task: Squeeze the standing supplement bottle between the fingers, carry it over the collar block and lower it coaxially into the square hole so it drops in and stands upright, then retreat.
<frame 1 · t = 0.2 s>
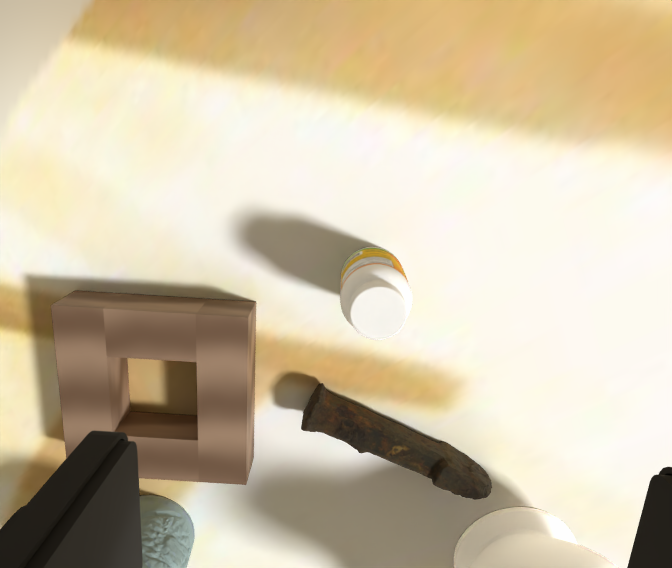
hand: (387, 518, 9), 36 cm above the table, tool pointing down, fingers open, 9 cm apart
supplement bottle: (371, 275, 46), on the table
collar block: (168, 378, 49), on the table
blue grey cup: (155, 526, 54), on the table
hand tool: (401, 427, 50), on the table
decorative vase: (514, 556, 54), on the table
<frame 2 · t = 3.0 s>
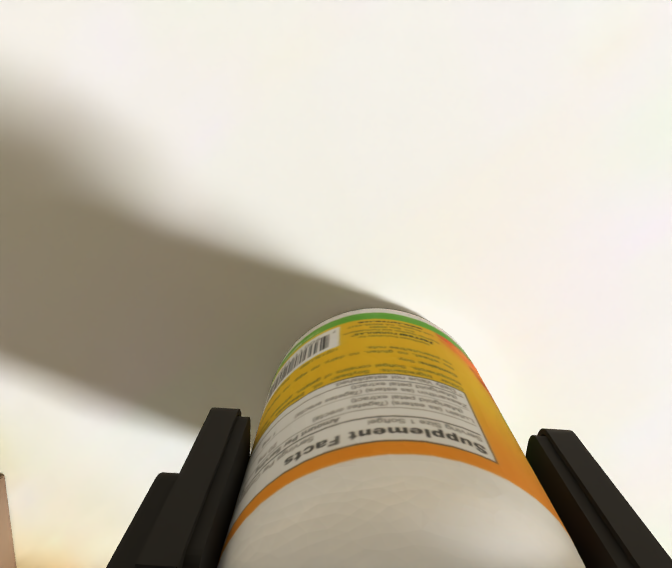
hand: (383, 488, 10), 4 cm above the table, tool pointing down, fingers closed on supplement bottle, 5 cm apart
supplement bottle: (374, 397, 14), on the table, touching gripper
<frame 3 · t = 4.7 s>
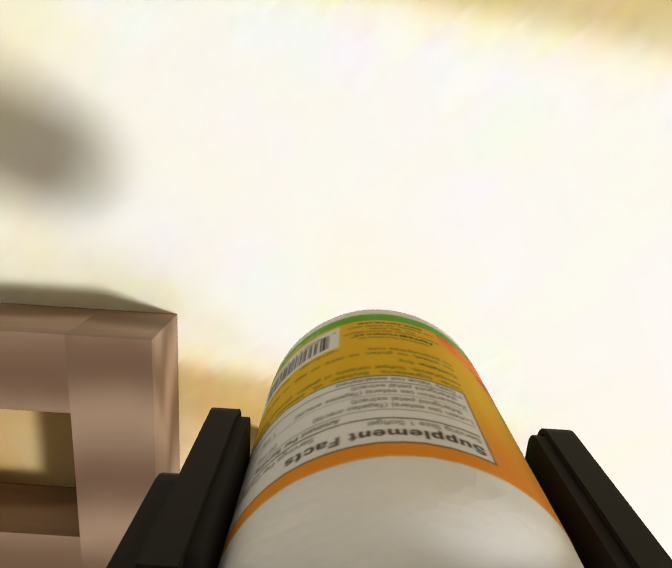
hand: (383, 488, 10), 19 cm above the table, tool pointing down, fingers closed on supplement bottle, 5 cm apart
supplement bottle: (374, 398, 14), point 15 cm above the table, touching gripper
collar block: (46, 432, 31), on the table
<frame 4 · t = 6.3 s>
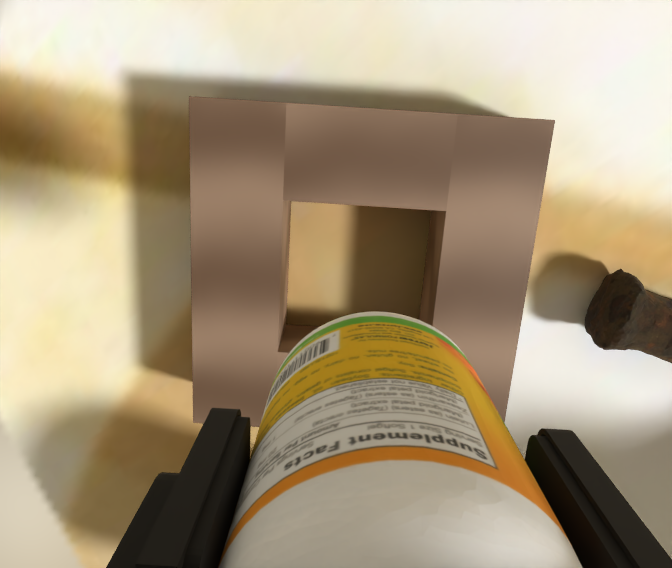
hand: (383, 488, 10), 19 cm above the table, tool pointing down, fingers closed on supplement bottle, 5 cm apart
supplement bottle: (374, 400, 14), point 16 cm above the table, touching gripper
collar block: (356, 264, 29), on the table
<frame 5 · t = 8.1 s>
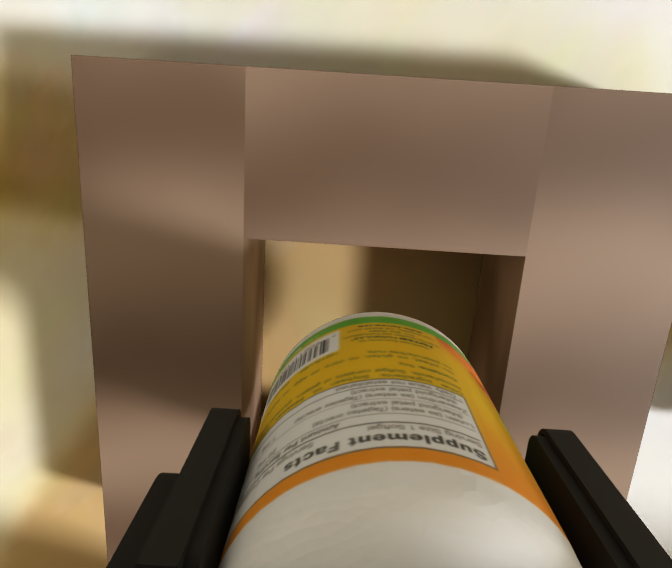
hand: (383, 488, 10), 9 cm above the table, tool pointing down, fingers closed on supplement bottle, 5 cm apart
supplement bottle: (373, 400, 14), point 5 cm above the table, touching gripper
collar block: (367, 326, 19), on the table
when the fingers open (5 cm above the table, at t = 9.7 s): supplement bottle drops 2 cm, resting in collar block.
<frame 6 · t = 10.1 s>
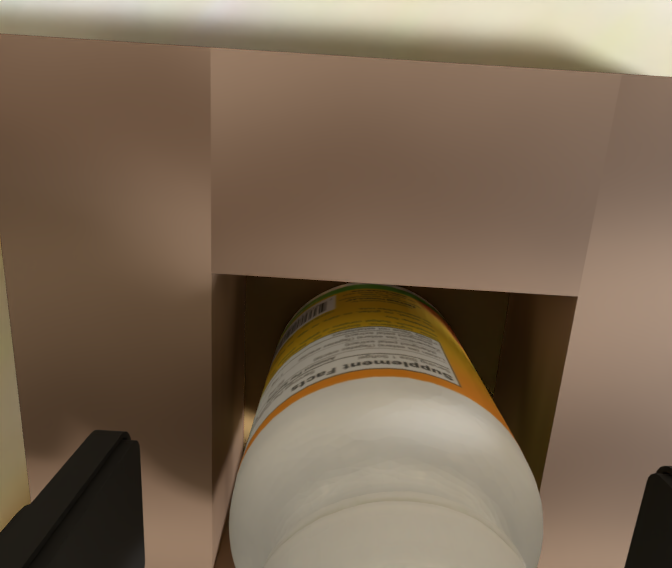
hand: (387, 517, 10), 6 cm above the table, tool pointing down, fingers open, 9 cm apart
supplement bottle: (366, 361, 16), resting in collar block
collar block: (370, 369, 16), on the table
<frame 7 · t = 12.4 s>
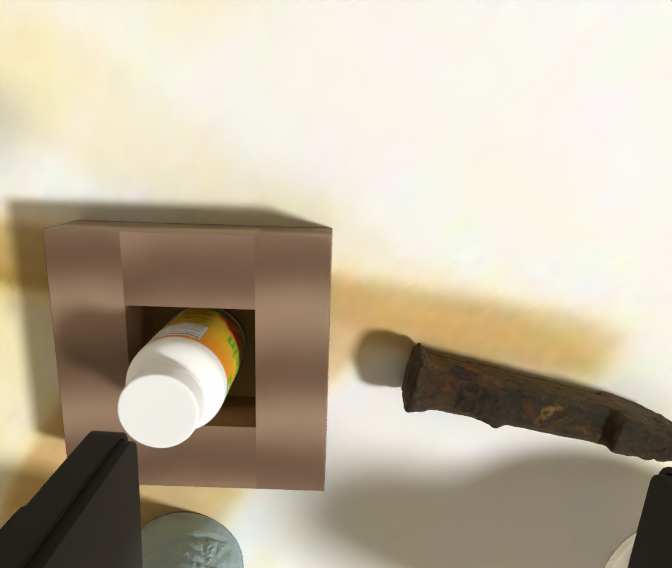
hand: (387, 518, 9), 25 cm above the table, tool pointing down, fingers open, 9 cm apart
supplement bottle: (207, 341, 35), resting in collar block
collar block: (208, 344, 35), on the table
blue grey cup: (189, 555, 39), on the table
hand tool: (538, 384, 36), on the table
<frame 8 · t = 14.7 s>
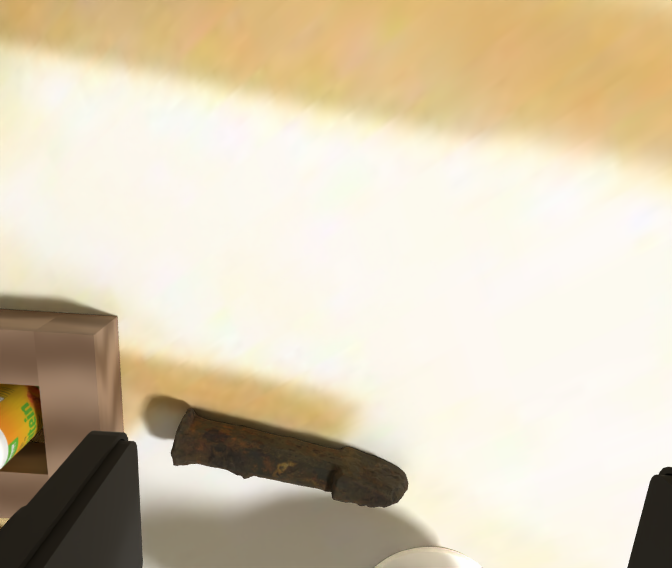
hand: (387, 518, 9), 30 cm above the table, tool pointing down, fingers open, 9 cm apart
supplement bottle: (24, 399, 43), resting in collar block
collar block: (25, 402, 43), on the table
hand tool: (296, 439, 44), on the table
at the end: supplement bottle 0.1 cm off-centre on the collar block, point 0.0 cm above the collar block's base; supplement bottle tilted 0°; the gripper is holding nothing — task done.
